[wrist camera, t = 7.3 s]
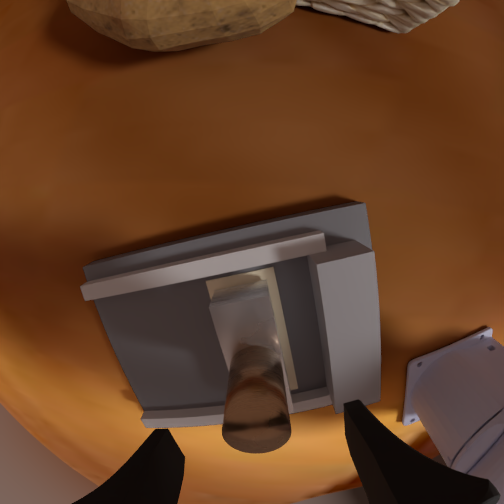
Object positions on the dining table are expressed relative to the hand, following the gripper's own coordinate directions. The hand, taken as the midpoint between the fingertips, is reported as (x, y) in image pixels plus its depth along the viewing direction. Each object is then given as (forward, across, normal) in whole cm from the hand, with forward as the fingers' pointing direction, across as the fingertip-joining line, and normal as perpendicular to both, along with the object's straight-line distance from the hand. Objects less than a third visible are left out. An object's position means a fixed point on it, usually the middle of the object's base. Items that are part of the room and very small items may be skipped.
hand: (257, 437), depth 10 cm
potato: (+10, 0, -22) cm, 24 cm away
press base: (+10, +1, 0) cm, 10 cm away
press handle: (+8, 0, 0) cm, 8 cm away
